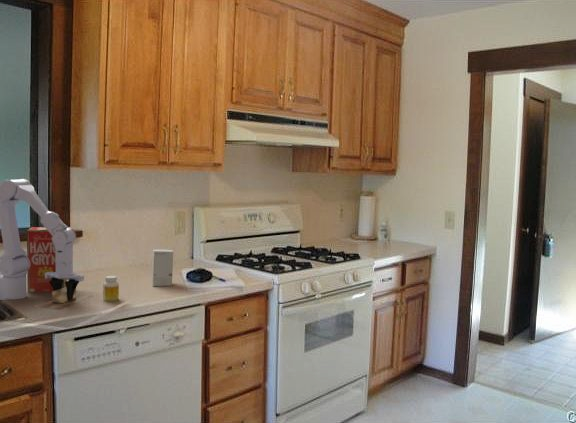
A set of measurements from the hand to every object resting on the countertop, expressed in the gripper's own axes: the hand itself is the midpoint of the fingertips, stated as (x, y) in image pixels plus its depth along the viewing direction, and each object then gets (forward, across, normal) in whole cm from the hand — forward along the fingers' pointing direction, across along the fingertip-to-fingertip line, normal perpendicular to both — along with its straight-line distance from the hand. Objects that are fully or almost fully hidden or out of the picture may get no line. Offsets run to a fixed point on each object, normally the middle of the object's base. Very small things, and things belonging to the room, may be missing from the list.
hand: (64, 299), depth 192 cm
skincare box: (+2, +20, +39) cm, 44 cm away
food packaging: (+2, -16, +13) cm, 21 cm away
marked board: (+2, 0, 0) cm, 2 cm away
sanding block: (+1, 0, 0) cm, 1 cm away
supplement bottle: (+2, +14, +7) cm, 16 cm away
